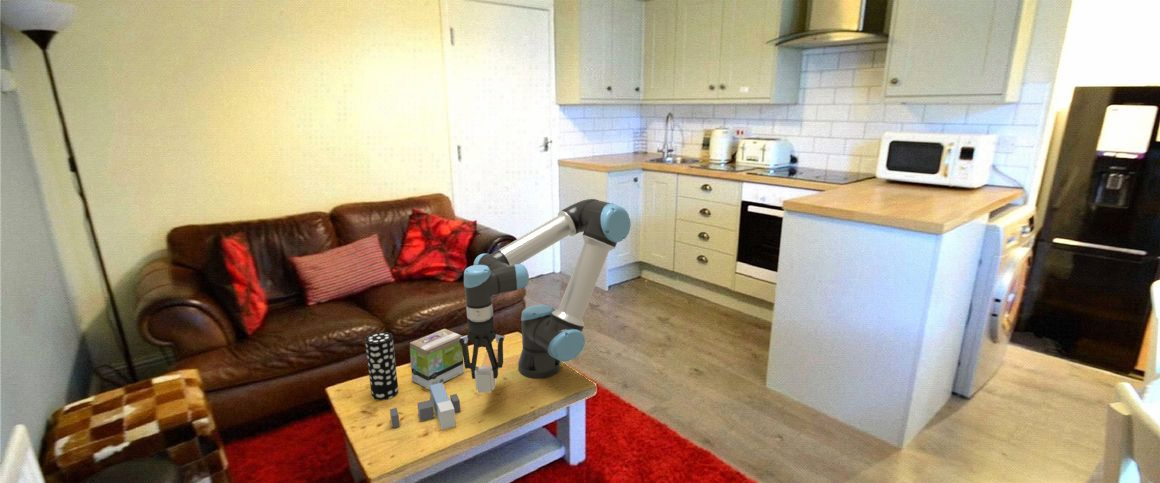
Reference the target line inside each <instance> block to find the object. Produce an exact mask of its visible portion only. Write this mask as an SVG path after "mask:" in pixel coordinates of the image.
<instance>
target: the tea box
mask: <svg viewBox="0 0 1160 483" xmlns="http://www.w3.org/2000/svg"><path fill="white" fill-rule="evenodd" d="M461 336H462V335H461V334H459V333H456V332H453V331H451V330H449V329H447V328H443V329H440V330H437V331H435V332H432V333H431V334H427V335H425V336H422V337H420V338H418V339H415V340H413V341H410V342H409V356H410V369H411V370H410V371H411V381H412V382H414V383H416V384H417V385H419V386H421V387H423V388H425V389H426V390H429V391H430V385H434V384H438V383H443V384H444V383H445V382H447V381H449V380H451V379H454V378H456V377H458V376H459V375H462V374H463V373H465V371H464V369H465V366H464V359H463V351H462V346H461V344H460V342H459V340H460V338H461Z"/></svg>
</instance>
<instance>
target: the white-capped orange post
mask: <svg viewBox="0 0 1160 483" xmlns="http://www.w3.org/2000/svg"><path fill="white" fill-rule="evenodd" d="M493 351H494V354H495V357H496V360H497V362H498V348H497V349H494V348H493ZM491 366H492V365H491V362H490V359H489V356H488V352H487V351H486V352H485V354H484V357H483V360H482V363H481V365H480V366H479V370H478V373H477V375H476V376H477V388H478V390H477V393H478V394H480V393H481V394H483V393H484V394H485V393H492V391H493V390H492V387H491V374H490V370H491Z"/></svg>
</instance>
